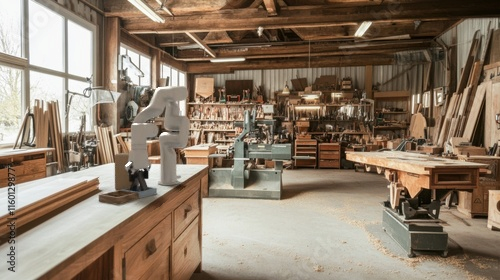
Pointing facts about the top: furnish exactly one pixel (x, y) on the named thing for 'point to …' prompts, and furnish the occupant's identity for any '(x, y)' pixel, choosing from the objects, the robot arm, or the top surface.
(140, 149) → the robot arm
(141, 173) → the black angular piece
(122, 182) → the block
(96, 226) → the top surface
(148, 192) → the slate tray
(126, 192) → the walnut bin
